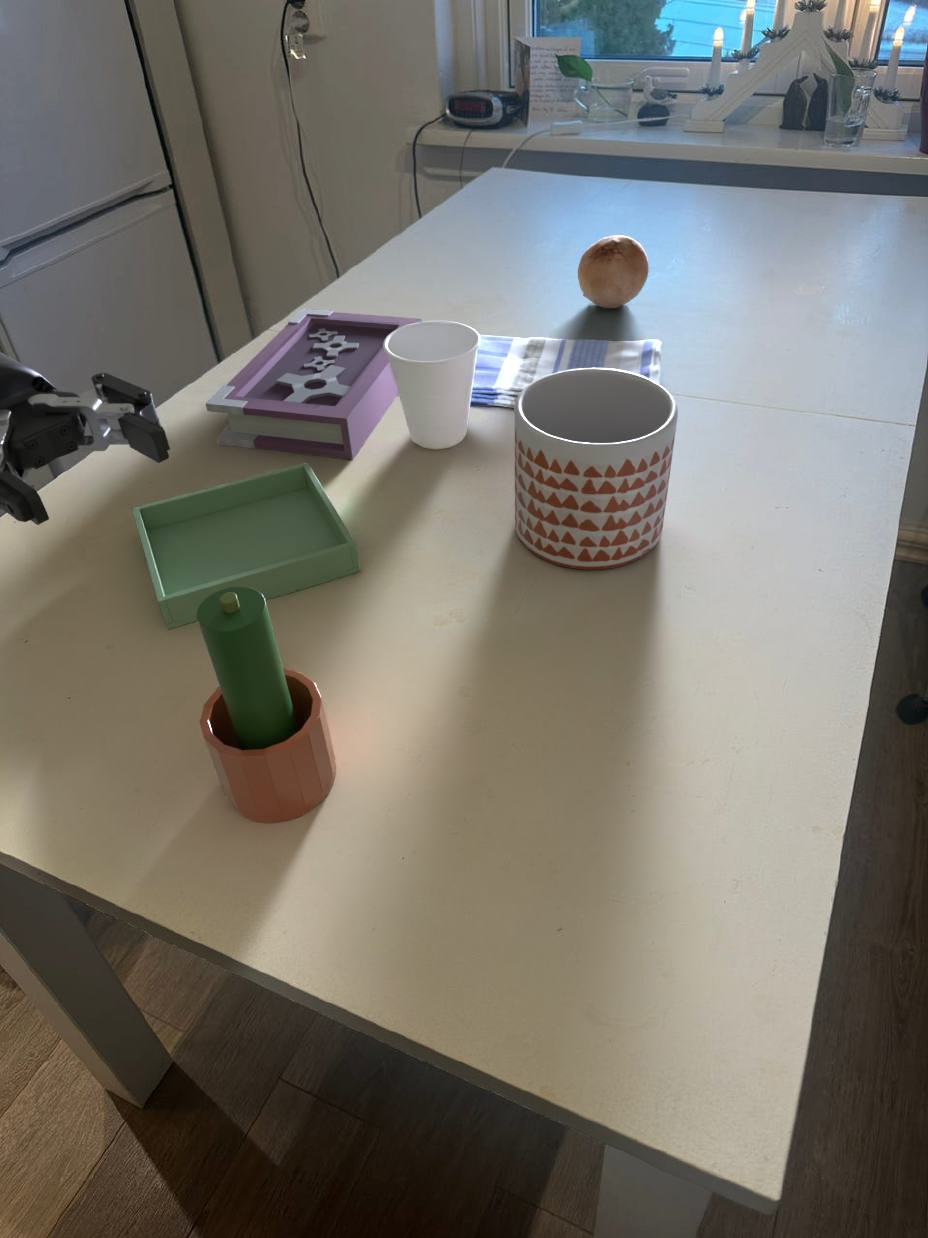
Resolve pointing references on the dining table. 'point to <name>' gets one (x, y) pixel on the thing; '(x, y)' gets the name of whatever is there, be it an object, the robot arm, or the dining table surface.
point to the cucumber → (248, 666)
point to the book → (313, 386)
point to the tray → (243, 540)
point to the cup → (434, 379)
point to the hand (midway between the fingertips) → (103, 477)
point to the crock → (274, 758)
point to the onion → (613, 271)
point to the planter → (592, 466)
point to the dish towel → (552, 363)
